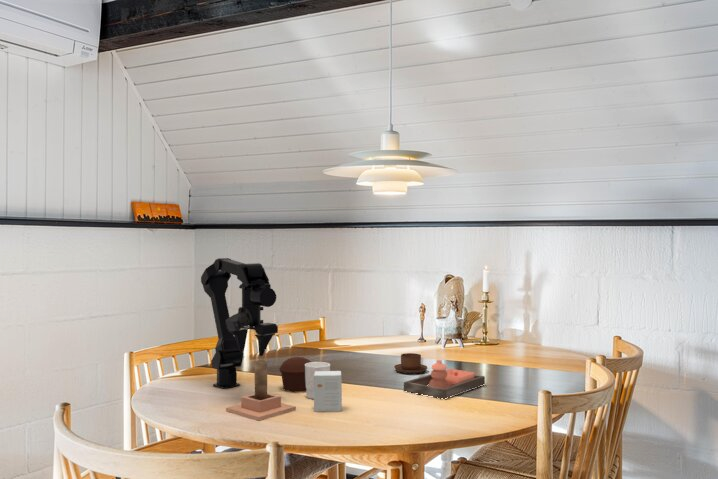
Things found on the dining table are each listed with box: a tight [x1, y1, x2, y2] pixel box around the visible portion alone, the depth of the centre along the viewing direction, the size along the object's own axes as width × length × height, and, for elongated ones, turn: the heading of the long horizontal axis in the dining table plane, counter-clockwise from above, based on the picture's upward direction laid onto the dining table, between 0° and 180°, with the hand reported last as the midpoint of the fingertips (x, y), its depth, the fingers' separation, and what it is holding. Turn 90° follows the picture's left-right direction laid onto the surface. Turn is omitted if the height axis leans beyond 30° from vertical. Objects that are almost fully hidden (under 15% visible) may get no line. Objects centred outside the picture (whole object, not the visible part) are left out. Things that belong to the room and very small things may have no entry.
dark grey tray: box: [403, 373, 486, 400], centre depth 217 cm, size 15×24×3 cm, turn 139°
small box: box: [313, 370, 343, 412], centre depth 192 cm, size 8×6×10 cm
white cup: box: [305, 361, 331, 400], centre depth 206 cm, size 8×8×10 cm
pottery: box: [428, 359, 476, 389], centre depth 218 cm, size 18×10×10 cm, turn 140°
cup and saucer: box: [394, 352, 428, 374], centre depth 242 cm, size 12×12×6 cm
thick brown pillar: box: [253, 360, 268, 400], centre depth 190 cm, size 4×4×13 cm
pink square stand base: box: [225, 392, 297, 421], centre depth 190 cm, size 14×14×4 cm
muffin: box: [278, 356, 312, 393], centre depth 216 cm, size 12×11×10 cm
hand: (251, 354), depth 206 cm, fingers open, 9 cm apart
